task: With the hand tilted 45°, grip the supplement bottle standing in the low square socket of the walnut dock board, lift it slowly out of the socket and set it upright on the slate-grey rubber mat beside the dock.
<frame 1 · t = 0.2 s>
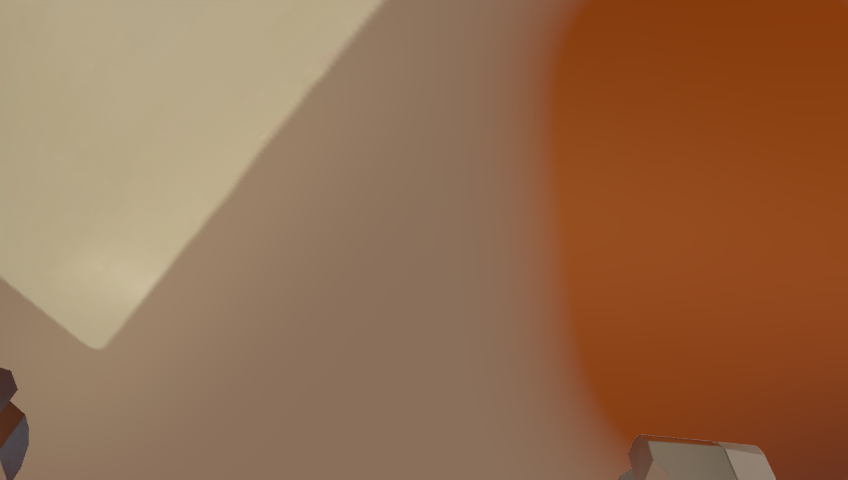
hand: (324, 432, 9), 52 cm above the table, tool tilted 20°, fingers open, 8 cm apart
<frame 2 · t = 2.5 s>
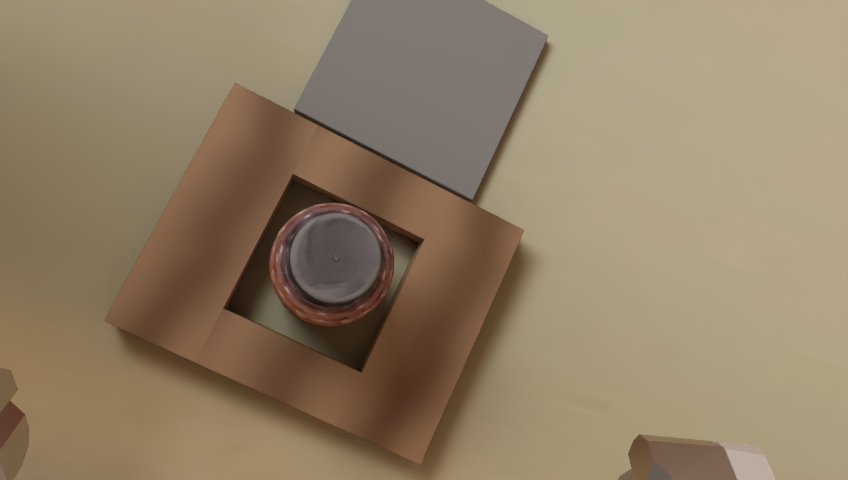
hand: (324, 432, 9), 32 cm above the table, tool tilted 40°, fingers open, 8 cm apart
slate-grey rubber mat: (424, 74, 43), on the table
walnut dock board: (325, 274, 41), on the table
supplement bottle: (325, 275, 41), resting in walnut dock board
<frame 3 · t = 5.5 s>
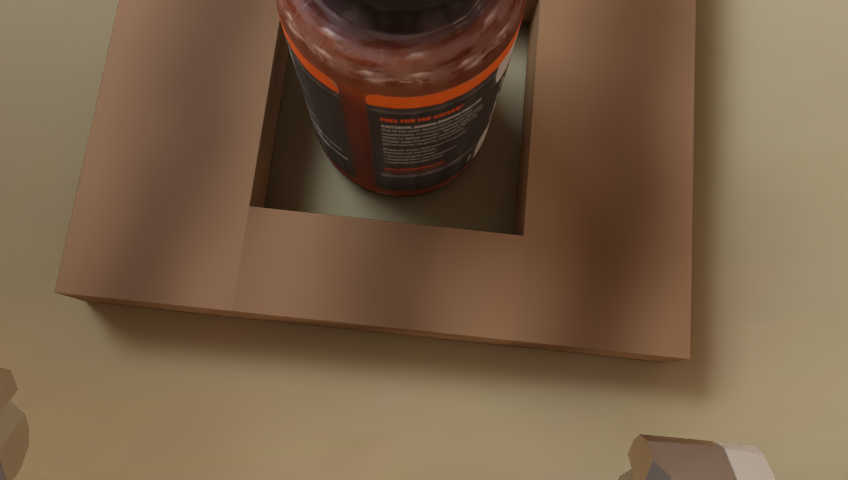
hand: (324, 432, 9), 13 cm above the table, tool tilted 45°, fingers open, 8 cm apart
walnut dock board: (401, 118, 24), on the table
supplement bottle: (401, 120, 24), resting in walnut dock board
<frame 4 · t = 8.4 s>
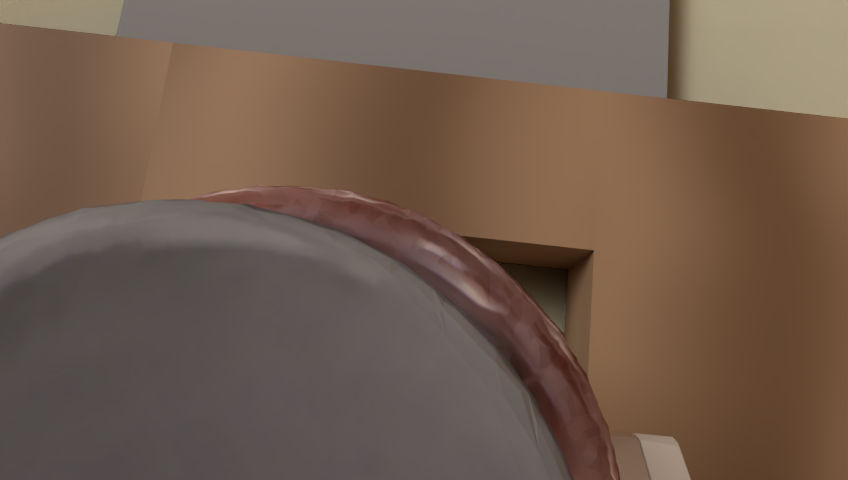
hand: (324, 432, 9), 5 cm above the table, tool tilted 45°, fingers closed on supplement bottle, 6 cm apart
walnut dock board: (347, 452, 14), on the table
supplement bottle: (347, 452, 14), resting in walnut dock board, touching gripper
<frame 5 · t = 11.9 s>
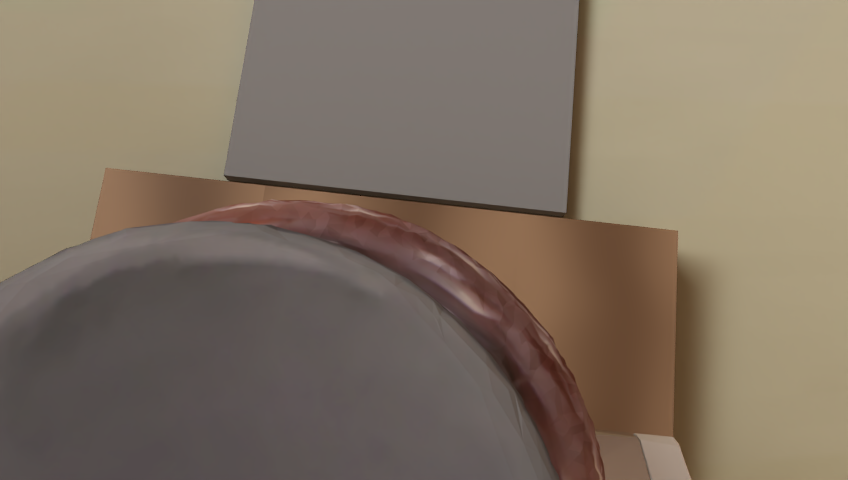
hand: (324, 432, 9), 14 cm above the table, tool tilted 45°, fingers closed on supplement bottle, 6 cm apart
slate-grey rubber mat: (413, 46, 26), on the table
walnut dock board: (368, 429, 23), on the table
supplement bottle: (349, 450, 14), point 9 cm above the table, touching gripper
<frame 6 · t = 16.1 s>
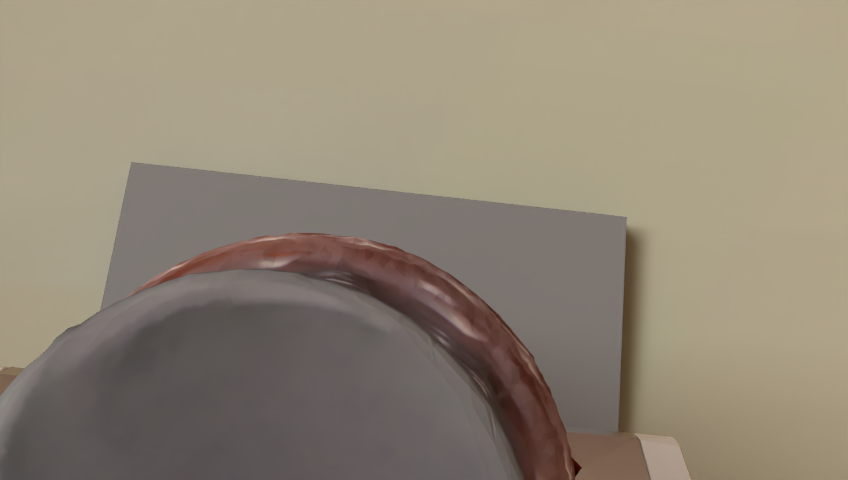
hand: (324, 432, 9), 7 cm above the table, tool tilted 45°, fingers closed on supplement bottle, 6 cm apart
slate-grey rubber mat: (350, 445, 16), on the table
supplement bottle: (352, 449, 16), resting on slate-grey rubber mat, touching gripper
when the fingers open (7 cm above the table, at t = 16.1 s): supplement bottle stays where it is, resting on slate-grey rubber mat.
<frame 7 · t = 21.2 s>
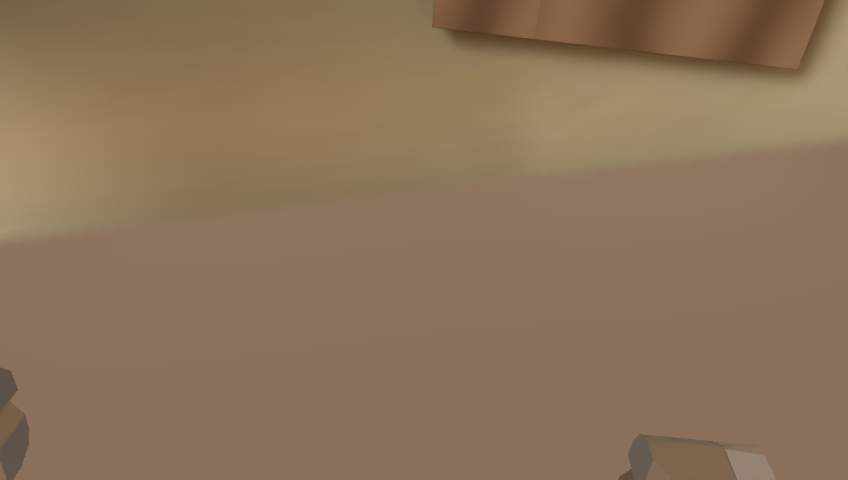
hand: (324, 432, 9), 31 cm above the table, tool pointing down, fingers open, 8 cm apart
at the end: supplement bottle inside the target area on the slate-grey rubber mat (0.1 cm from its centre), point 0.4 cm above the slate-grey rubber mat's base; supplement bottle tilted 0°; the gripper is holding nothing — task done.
